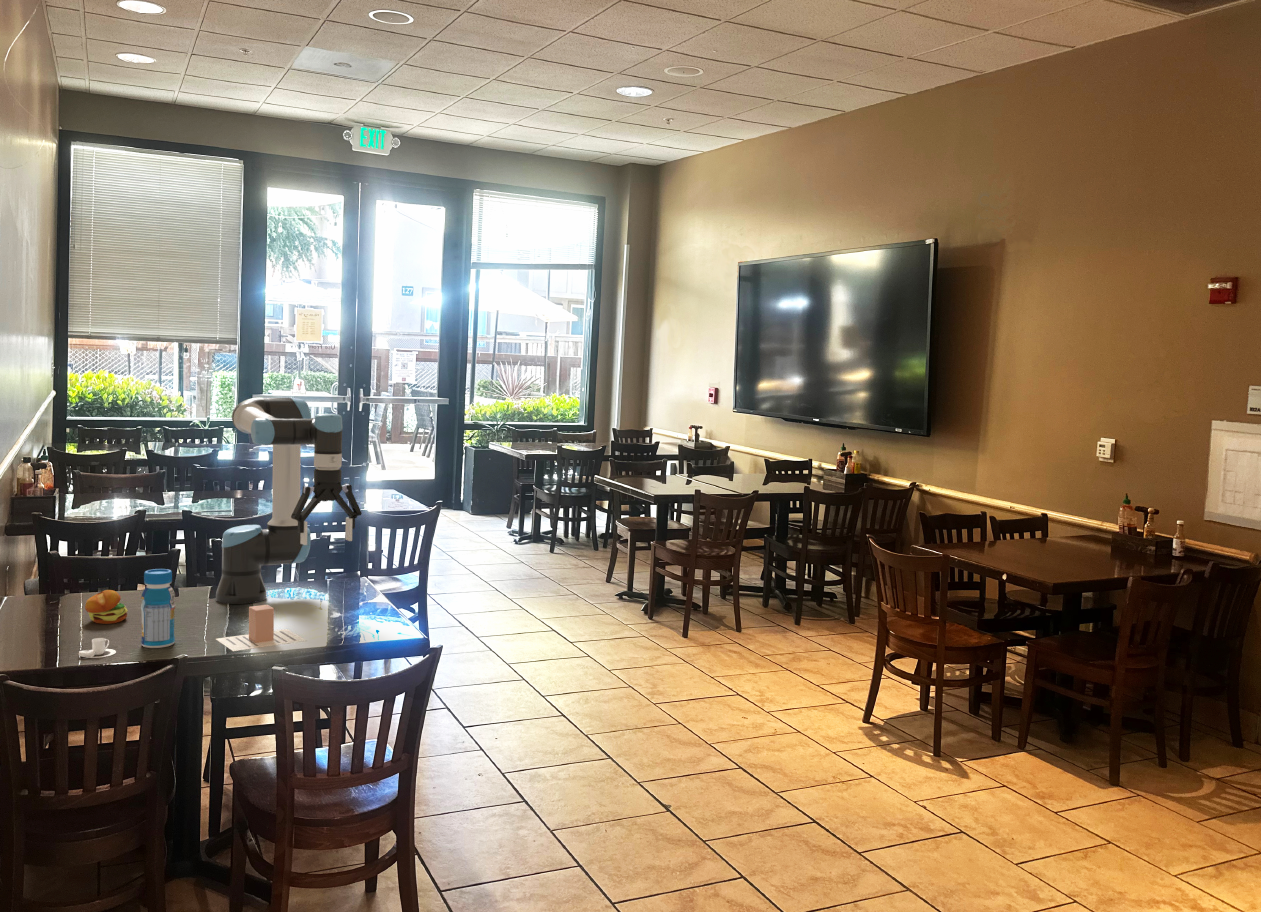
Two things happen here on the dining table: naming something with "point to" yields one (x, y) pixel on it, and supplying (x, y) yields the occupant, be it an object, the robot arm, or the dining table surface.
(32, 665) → the dining table surface
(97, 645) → the teacup and saucer
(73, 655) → the dining table surface
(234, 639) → the letter
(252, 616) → the block
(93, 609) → the cheeseburger
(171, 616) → the beverage bottle
